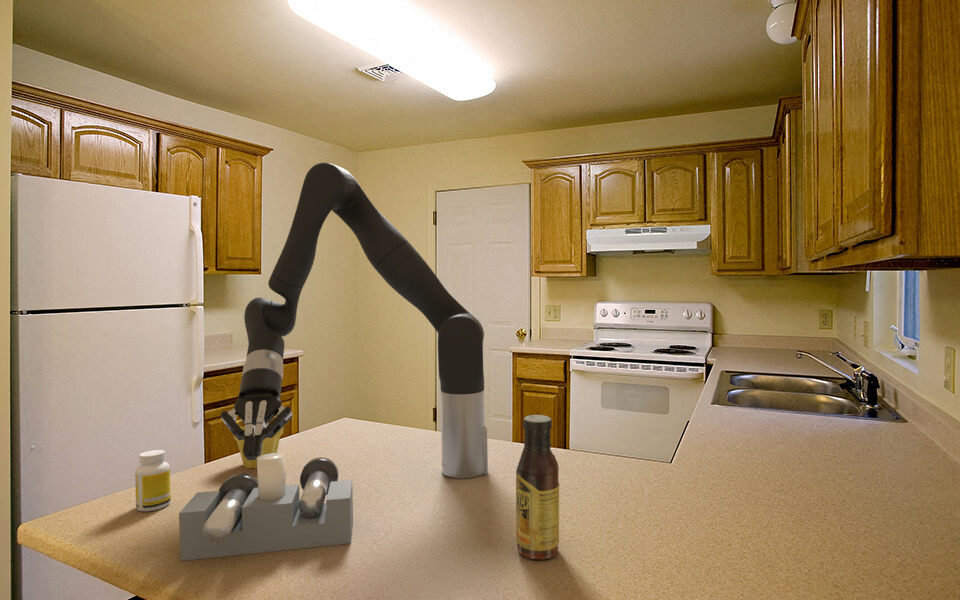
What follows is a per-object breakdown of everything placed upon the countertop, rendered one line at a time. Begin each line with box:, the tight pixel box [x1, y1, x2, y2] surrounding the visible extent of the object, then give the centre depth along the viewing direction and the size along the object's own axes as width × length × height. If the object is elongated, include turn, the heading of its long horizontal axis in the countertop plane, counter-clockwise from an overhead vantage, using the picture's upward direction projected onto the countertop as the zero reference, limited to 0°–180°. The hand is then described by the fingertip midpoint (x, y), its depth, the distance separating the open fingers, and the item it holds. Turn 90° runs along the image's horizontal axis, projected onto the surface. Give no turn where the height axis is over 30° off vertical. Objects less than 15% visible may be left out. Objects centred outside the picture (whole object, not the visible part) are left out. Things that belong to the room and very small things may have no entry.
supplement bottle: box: [134, 449, 171, 512], centre depth 98 cm, size 5×5×10 cm
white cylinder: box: [256, 452, 286, 500], centre depth 84 cm, size 4×4×6 cm
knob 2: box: [299, 456, 339, 517], centre depth 90 cm, size 6×14×6 cm, turn 11°
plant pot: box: [233, 415, 284, 469], centre depth 121 cm, size 10×10×10 cm
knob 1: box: [203, 472, 258, 542], centre depth 82 cm, size 6×14×6 cm, turn 11°
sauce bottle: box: [515, 414, 560, 561], centre depth 78 cm, size 7×6×20 cm
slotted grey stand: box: [178, 479, 354, 562], centre depth 84 cm, size 24×8×7 cm, turn 101°
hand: (251, 457), depth 96 cm, fingers closed
